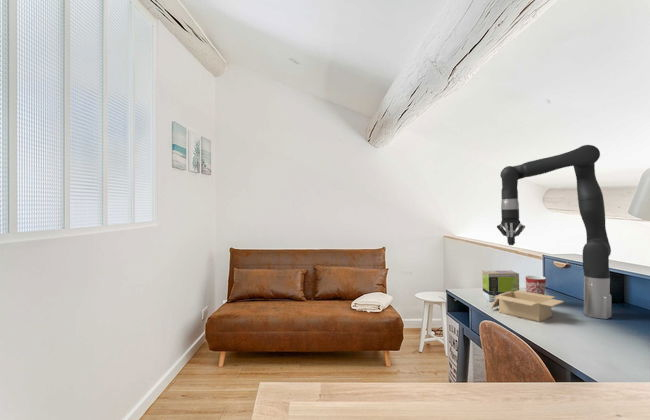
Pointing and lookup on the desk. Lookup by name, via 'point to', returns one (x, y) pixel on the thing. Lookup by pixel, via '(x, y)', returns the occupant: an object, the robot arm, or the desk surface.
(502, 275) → the tea box
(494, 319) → the desk surface
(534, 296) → the carton
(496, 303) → the flap
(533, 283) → the mug
